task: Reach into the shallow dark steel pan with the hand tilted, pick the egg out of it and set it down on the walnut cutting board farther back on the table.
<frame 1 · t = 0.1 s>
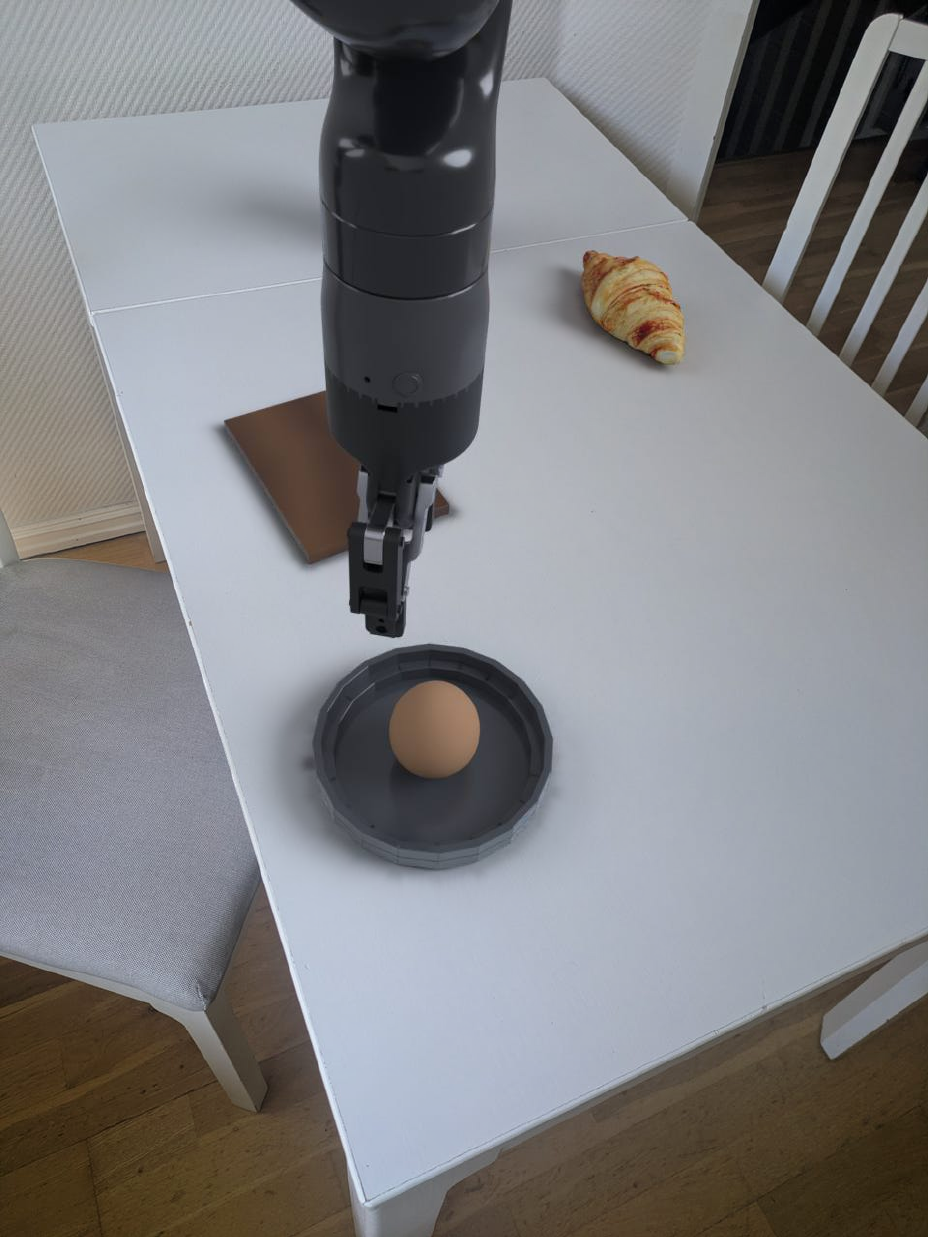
hand: (401, 576, 54), 18 cm above the table, tool pointing down, fingers open, 8 cm apart
pan: (432, 760, 68), on the table
board: (333, 470, 86), on the table
croissant: (625, 323, 105), on the table
coffee jar: (410, 246, 113), on the table
egg: (432, 759, 67), resting on pan
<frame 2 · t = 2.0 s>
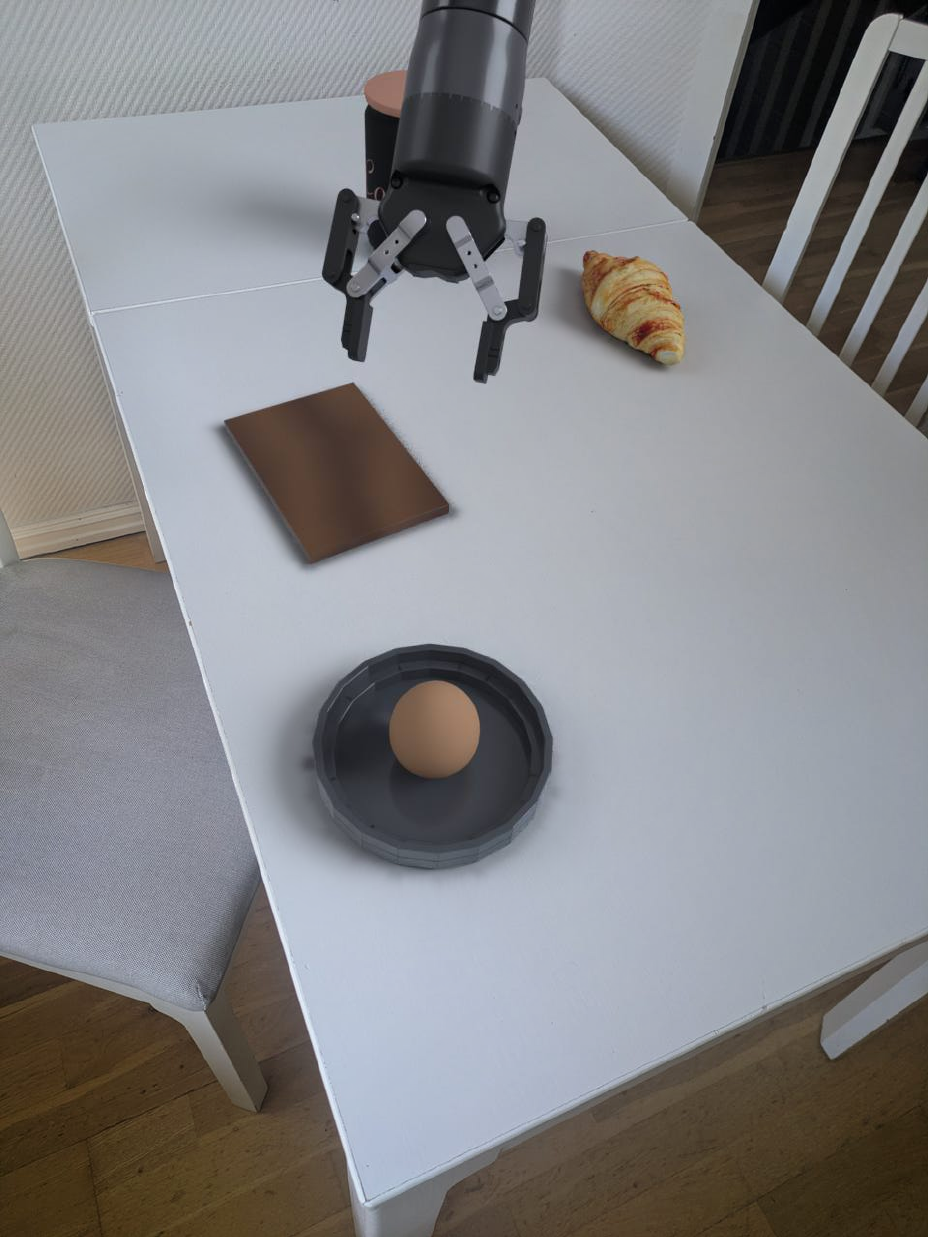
hand: (417, 370, 60), 22 cm above the table, tool tilted 40°, fingers open, 8 cm apart
nothing on the table moved.
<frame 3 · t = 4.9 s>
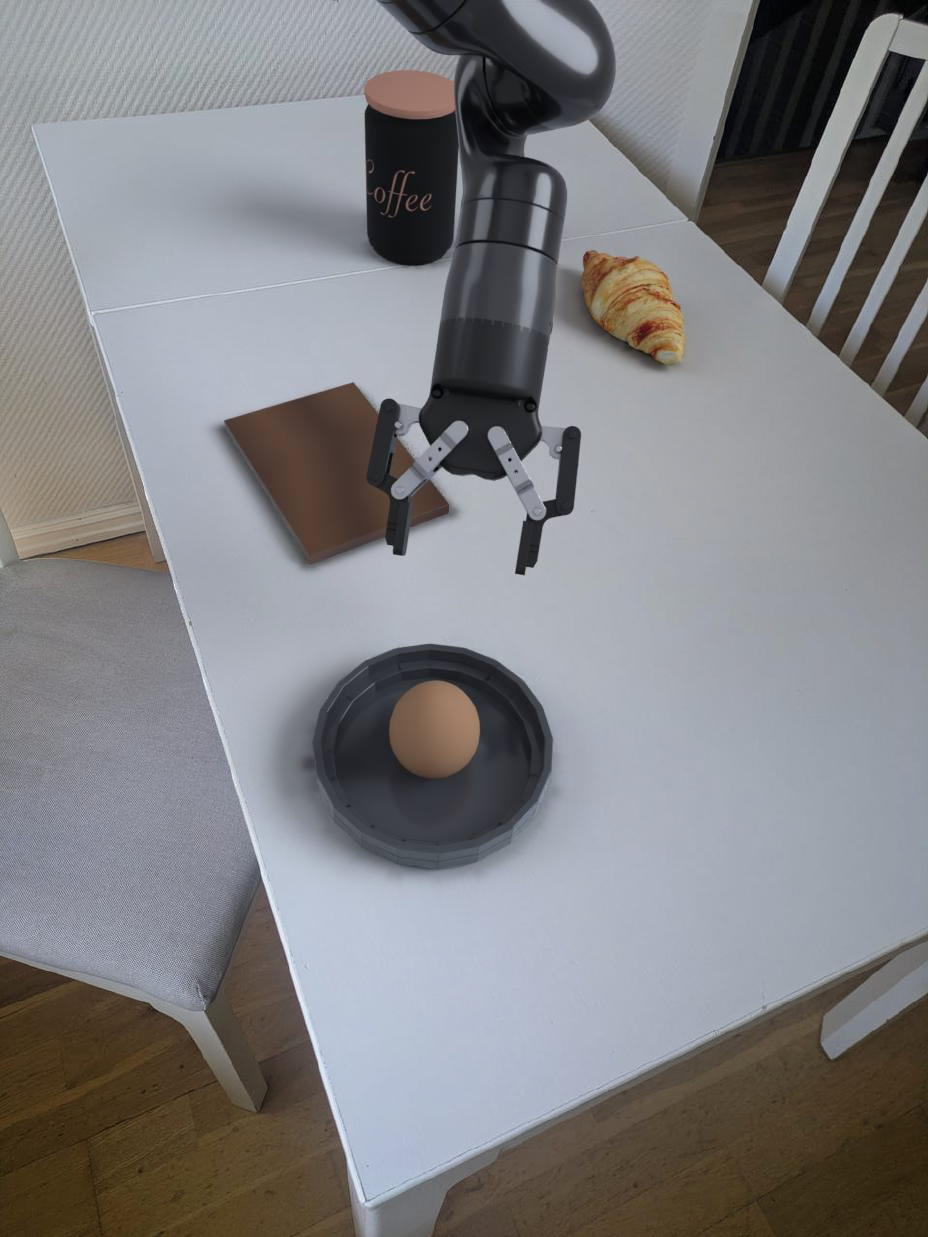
hand: (459, 564, 63), 13 cm above the table, tool tilted 45°, fingers open, 8 cm apart
nothing on the table moved.
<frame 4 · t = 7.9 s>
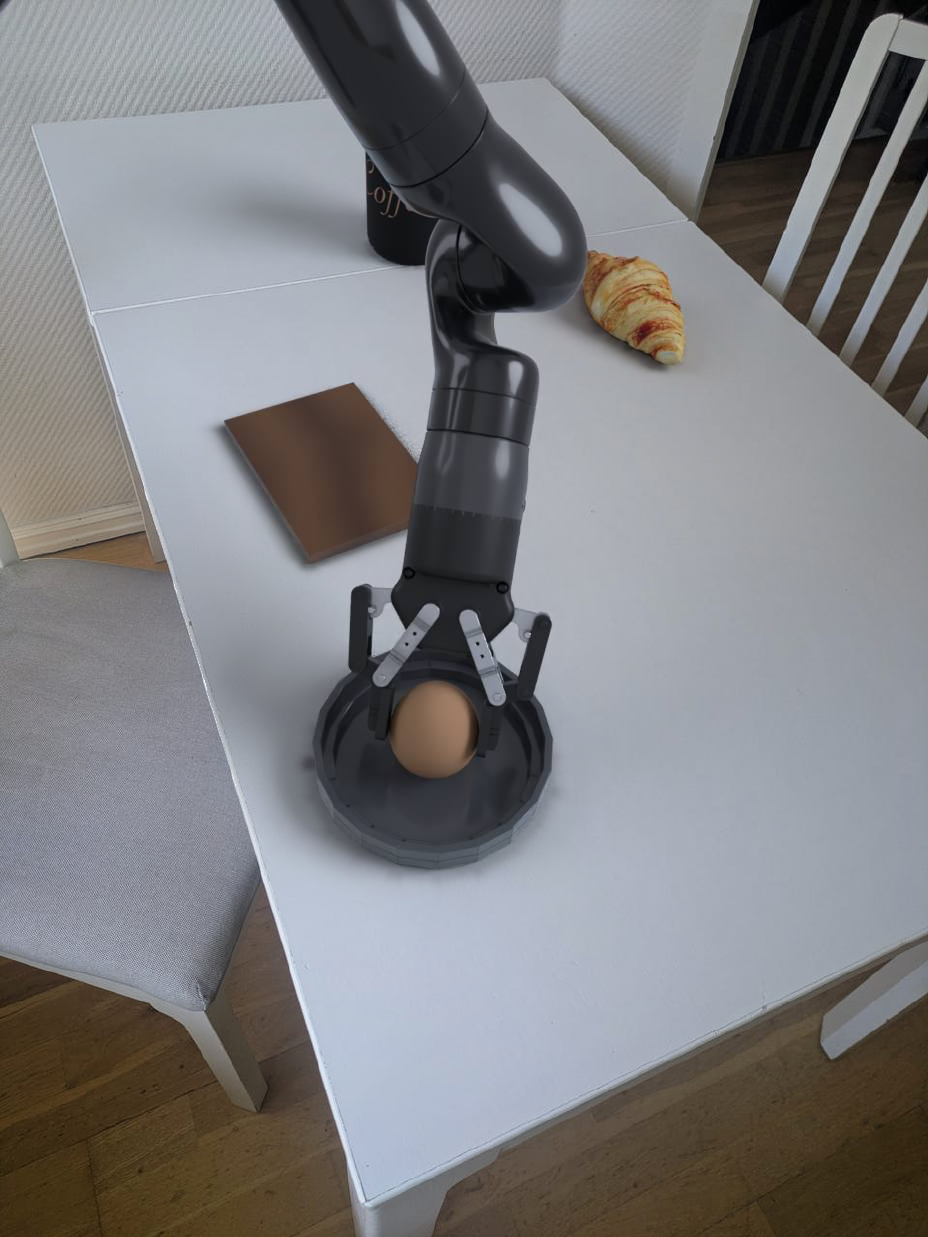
hand: (431, 745, 63), 5 cm above the table, tool tilted 45°, fingers closed on egg, 6 cm apart
egg: (432, 759, 67), resting on pan, touching gripper
everything else where it was.
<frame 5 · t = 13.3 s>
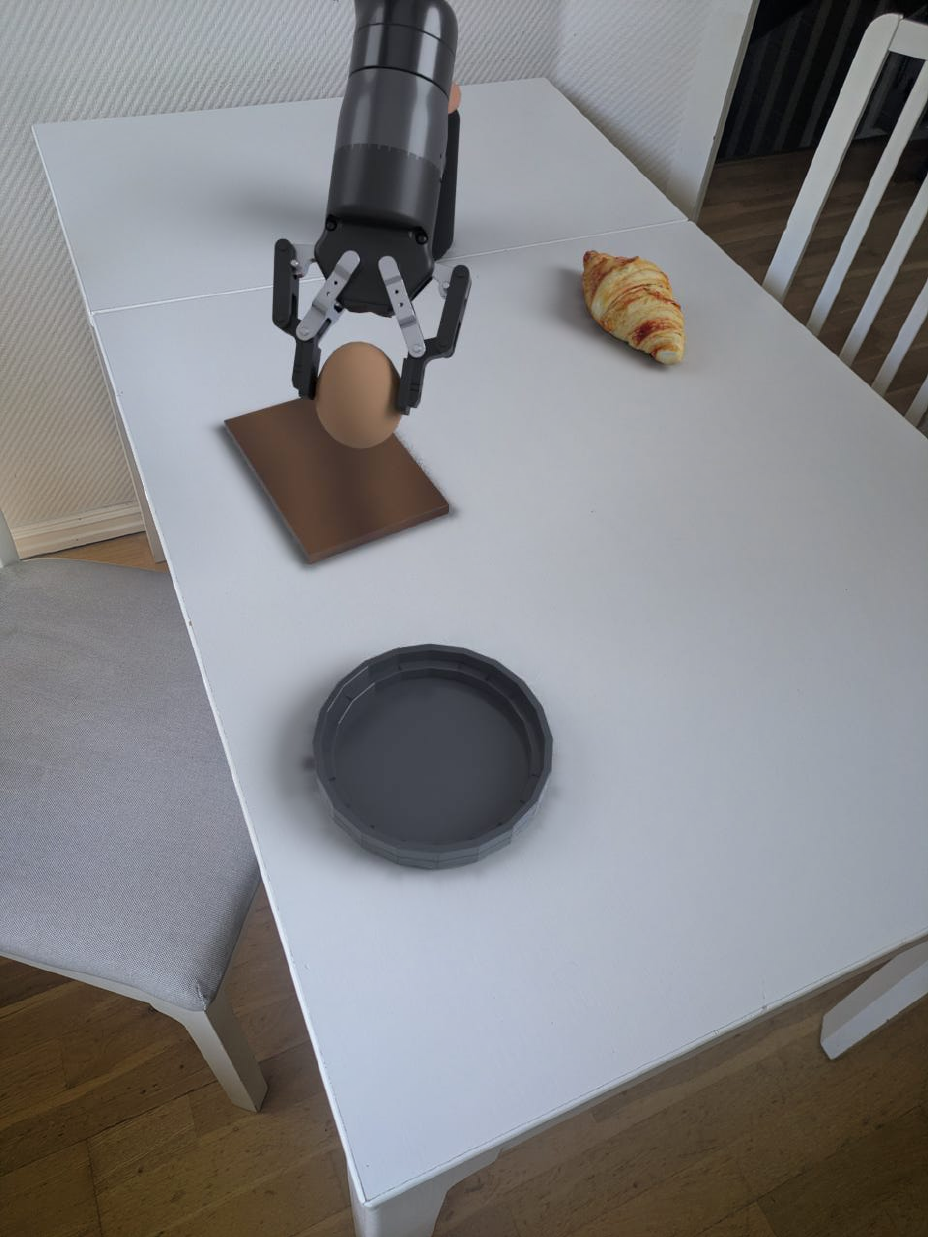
hand: (354, 405, 64), 18 cm above the table, tool tilted 45°, fingers closed on egg, 6 cm apart
egg: (361, 441, 69), point 14 cm above the table, touching gripper
everything else where it was.
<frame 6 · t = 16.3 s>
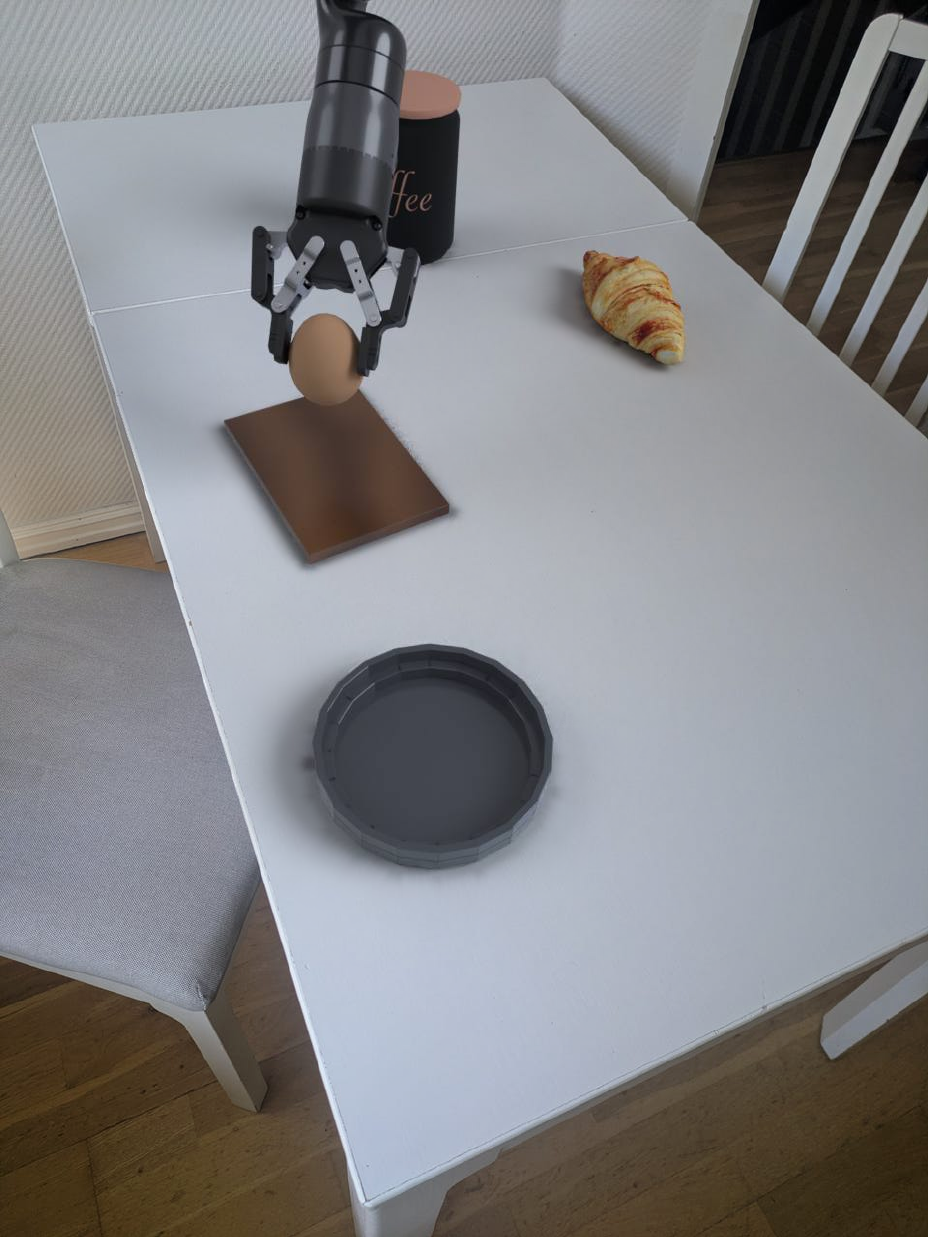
hand: (321, 368, 76), 13 cm above the table, tool tilted 45°, fingers closed on egg, 6 cm apart
egg: (329, 401, 80), point 8 cm above the table, touching gripper
everything else where it was.
when the fingers open (6 cm above the table, at t = 18.8 s): egg stays where it is, resting on board.
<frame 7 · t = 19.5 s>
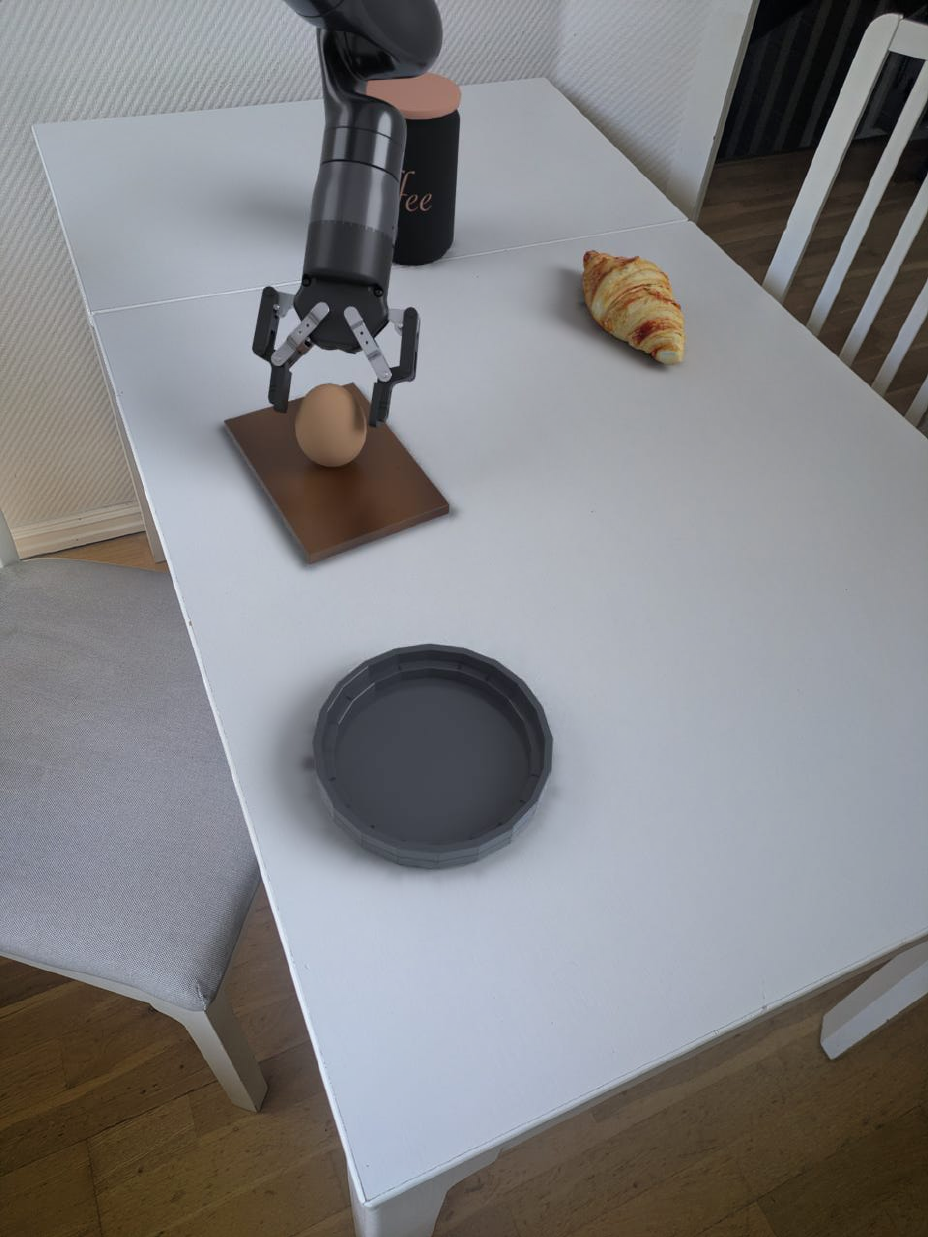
hand: (327, 419, 80), 7 cm above the table, tool tilted 45°, fingers open, 8 cm apart
egg: (333, 461, 86), point 1 cm above the table, touching board
everything else where it was.
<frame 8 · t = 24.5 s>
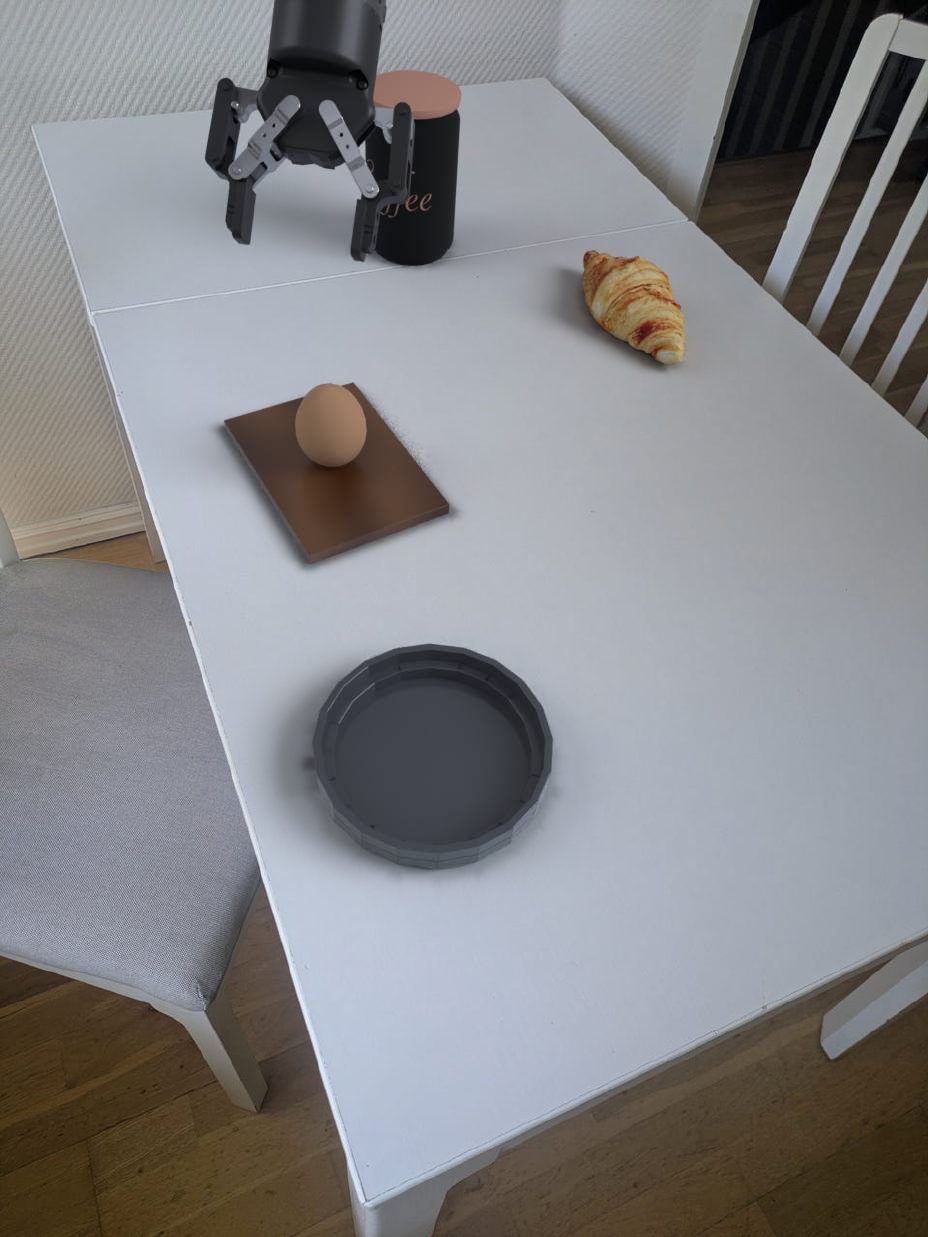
hand: (299, 249, 65), 25 cm above the table, tool tilted 45°, fingers open, 8 cm apart
nothing on the table moved.
at the end: egg inside the target area on the board (0.1 cm from its centre), point 1.0 cm above the board's base; egg touching board; the gripper is holding nothing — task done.
